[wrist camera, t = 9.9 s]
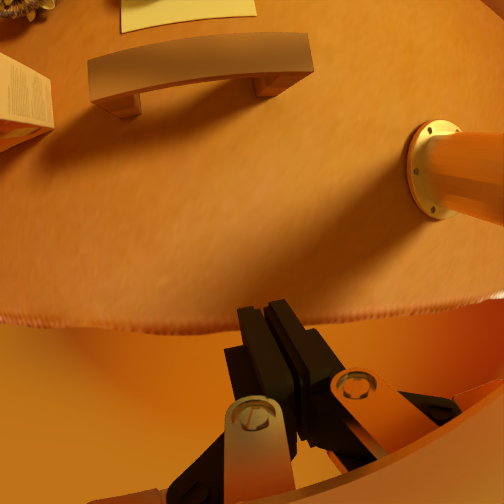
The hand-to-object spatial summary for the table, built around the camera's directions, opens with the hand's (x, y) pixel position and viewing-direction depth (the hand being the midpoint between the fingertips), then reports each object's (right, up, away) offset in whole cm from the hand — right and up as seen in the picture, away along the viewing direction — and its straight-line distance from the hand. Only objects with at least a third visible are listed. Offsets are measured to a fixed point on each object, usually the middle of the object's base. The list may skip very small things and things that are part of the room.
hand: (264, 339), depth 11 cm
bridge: (-5, +18, +14) cm, 23 cm away
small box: (-23, +16, +11) cm, 30 cm away
